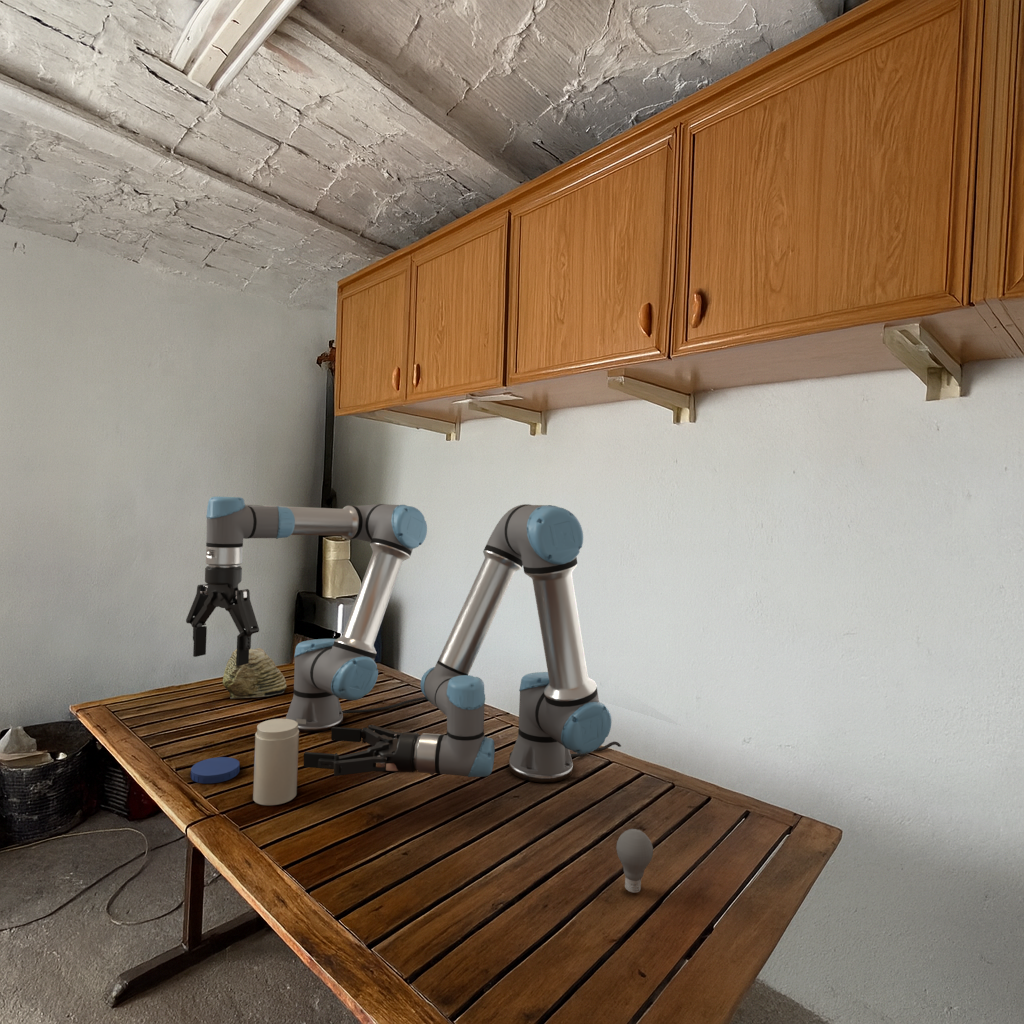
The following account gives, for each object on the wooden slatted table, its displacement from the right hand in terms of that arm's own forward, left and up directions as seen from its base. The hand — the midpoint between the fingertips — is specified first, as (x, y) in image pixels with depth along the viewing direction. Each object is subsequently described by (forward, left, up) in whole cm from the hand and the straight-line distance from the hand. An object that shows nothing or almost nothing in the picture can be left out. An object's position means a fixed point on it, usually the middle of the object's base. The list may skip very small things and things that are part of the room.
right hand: (318, 745), depth 132 cm
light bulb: (-50, +44, -12) cm, 67 cm away
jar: (+8, -4, -12) cm, 15 cm away
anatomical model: (-20, -15, -12) cm, 27 cm away
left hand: (+21, -18, +14) cm, 31 cm away
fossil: (+17, -75, -12) cm, 78 cm away
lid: (+21, -18, -10) cm, 30 cm away
